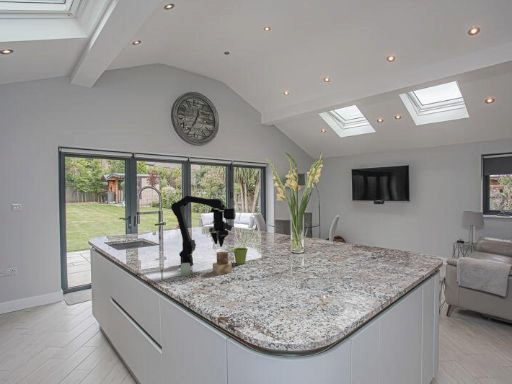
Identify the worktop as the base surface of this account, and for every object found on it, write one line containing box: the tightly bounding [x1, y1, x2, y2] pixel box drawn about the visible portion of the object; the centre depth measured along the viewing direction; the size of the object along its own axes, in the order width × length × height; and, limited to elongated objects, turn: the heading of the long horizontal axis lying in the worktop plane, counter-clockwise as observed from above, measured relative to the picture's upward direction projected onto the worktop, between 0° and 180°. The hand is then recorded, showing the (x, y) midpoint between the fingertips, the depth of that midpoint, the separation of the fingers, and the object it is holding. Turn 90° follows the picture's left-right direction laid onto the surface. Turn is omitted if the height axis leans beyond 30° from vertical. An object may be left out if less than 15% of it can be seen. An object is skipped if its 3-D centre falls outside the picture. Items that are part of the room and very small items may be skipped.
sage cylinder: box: [180, 263, 191, 277], centre depth 161 cm, size 5×5×6 cm
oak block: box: [212, 261, 233, 276], centre depth 166 cm, size 8×8×5 cm
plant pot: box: [232, 247, 249, 265], centre depth 184 cm, size 9×9×9 cm
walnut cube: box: [216, 251, 229, 265], centre depth 166 cm, size 5×5×6 cm
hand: (218, 245), depth 178 cm, fingers open, 9 cm apart
